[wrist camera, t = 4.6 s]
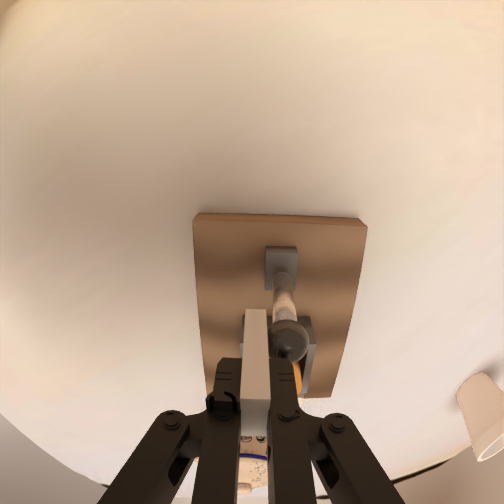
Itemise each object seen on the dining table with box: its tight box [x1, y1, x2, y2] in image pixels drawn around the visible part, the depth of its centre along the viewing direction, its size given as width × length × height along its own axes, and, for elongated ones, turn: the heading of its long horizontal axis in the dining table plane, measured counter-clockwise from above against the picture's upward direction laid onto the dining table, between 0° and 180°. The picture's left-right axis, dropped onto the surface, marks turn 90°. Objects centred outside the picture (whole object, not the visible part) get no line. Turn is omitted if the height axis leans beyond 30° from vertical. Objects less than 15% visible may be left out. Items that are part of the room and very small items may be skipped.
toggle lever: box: [267, 272, 309, 363], centre depth 18 cm, size 2×2×9 cm
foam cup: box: [456, 372, 504, 461], centre depth 28 cm, size 10×9×13 cm
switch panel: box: [193, 213, 368, 398], centre depth 26 cm, size 20×14×6 cm
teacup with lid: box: [194, 436, 268, 494], centre depth 30 cm, size 12×9×12 cm
